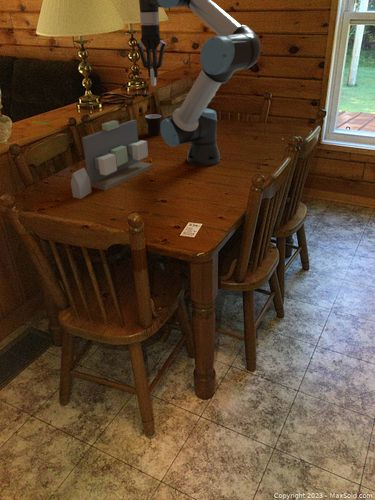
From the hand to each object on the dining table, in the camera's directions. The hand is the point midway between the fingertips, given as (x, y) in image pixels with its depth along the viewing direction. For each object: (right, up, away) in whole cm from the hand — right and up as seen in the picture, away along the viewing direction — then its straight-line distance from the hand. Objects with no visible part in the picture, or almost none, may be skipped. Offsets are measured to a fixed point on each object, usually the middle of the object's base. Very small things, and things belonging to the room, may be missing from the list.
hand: (153, 85), depth 187 cm
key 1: (-19, -39, -13) cm, 46 cm away
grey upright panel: (-16, -39, -1) cm, 42 cm away
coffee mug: (-3, -8, +49) cm, 50 cm away
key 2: (-8, -31, +1) cm, 32 cm away
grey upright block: (-27, -50, -18) cm, 59 cm away
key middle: (-16, -34, -4) cm, 38 cm away
